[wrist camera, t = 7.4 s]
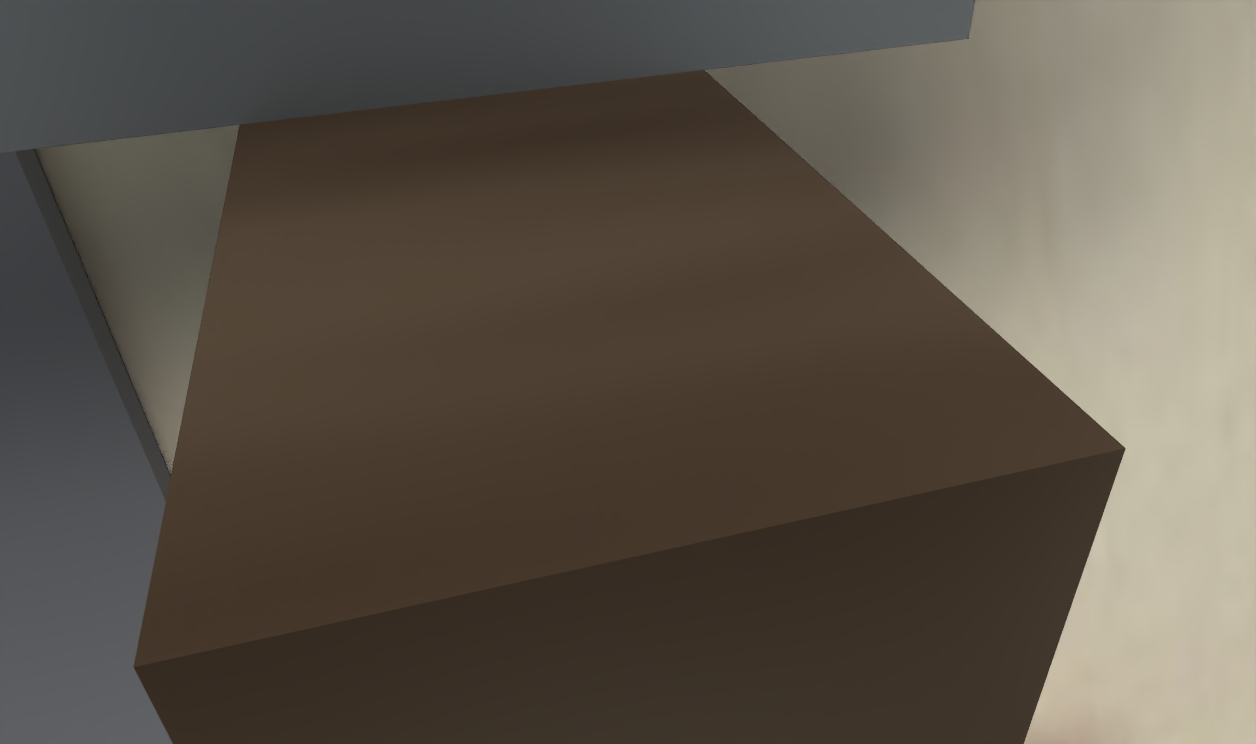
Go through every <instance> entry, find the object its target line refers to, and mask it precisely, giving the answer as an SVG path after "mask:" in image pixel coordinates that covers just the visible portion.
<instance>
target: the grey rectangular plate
mask: <svg viewBox="0 0 1256 744" xmlns="http://www.w3.org/2000/svg"><path fill="white" fill-rule="evenodd" d="M170 478H171V476H170V474H169V472H168V469H167V467H166V464H165V462H164V460H163V457H162V455H161V452H160V450H159V448H158V445H157V443H156V440H155V438H154V436H153V433H152V431H151V429H150V426H149V424H148V421H147V419H146V417H145V414H144V412H143V409H142V407H141V405H140V402H139V400H138V397H137V395H136V393H135V390H134V388H133V386H132V383H131V381H130V378H129V376H128V374H127V371H126V369H125V366H124V364H123V362H122V359H121V357H120V354H119V352H118V350H117V347H116V345H115V343H114V340H113V338H112V335H111V333H110V331H109V328H108V326H107V323H106V321H105V319H104V316H103V314H102V311H101V309H100V307H99V304H98V302H97V300H96V297H95V295H94V292H93V290H92V288H91V285H90V283H89V280H88V278H87V276H86V273H85V271H84V268H83V266H82V264H81V261H80V259H79V257H78V254H77V252H76V249H75V247H74V245H73V242H72V240H71V237H70V235H69V233H68V230H67V228H66V225H65V223H64V221H63V218H62V216H61V214H60V211H59V209H58V206H57V204H56V202H55V199H54V197H53V194H52V192H51V190H50V187H49V185H48V182H47V180H46V178H45V175H44V173H43V171H42V168H41V166H40V163H39V161H38V159H37V156H36V154H35V151H34V149H29V150H21V151H12V152H4V153H0V744H173V743H172V741H171V739H170V737H169V735H168V733H167V731H166V730H165V728H164V726H163V724H162V722H161V720H160V718H159V716H158V714H157V712H156V710H155V708H154V706H153V704H152V702H151V700H150V698H149V696H148V694H147V693H146V691H145V689H144V687H143V685H142V683H141V681H140V679H139V677H138V675H137V673H136V671H135V669H134V662H135V657H136V652H137V647H138V641H139V636H140V631H141V626H142V621H143V616H144V611H145V606H146V601H147V596H148V590H149V585H150V580H151V575H152V570H153V565H154V560H155V555H156V550H157V545H158V539H159V534H160V529H161V524H162V519H163V514H164V509H165V504H166V499H167V494H168V488H169V483H170Z"/></svg>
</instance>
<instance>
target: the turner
mask: <svg viewBox="0 0 1256 744" xmlns="http://www.w3.org/2000/svg"><path fill="white" fill-rule="evenodd" d="M974 3H975V0H0V153H4V152H12V151H21V150H29V149H38V148H46V147H54V146H63V145H71V144H80V143H88V142H97V141H105V140H114V139H122V138H131V137H139V136H148V135H156V134H165V133H173V132H182V131H190V130H199V129H207V128H216V127H224V126H233V125H240V127H239V132H238V137H237V142H236V147H235V152H234V157H233V162H232V167H231V172H230V178H229V183H228V188H227V193H226V198H225V203H224V208H223V213H222V218H221V223H220V228H219V234H218V239H217V244H216V249H215V254H214V259H213V264H212V269H211V274H210V279H209V285H208V290H207V295H206V300H205V305H204V310H203V315H202V320H201V325H200V330H199V336H198V341H197V346H196V351H195V356H194V361H193V366H192V371H191V376H190V381H189V387H188V392H187V397H186V402H185V407H184V412H183V417H182V422H181V427H180V432H179V438H178V443H177V448H176V453H175V458H174V463H173V468H172V473H171V478H170V483H169V488H168V494H167V499H166V504H165V509H164V514H163V519H162V524H161V529H160V534H159V539H158V545H157V550H156V555H155V560H154V565H153V570H152V575H151V580H150V585H149V590H148V596H147V601H146V606H145V611H144V616H143V621H142V626H141V631H140V636H139V641H138V647H137V652H136V657H135V662H134V669H135V671H136V673H137V675H138V677H139V679H140V681H141V683H142V685H143V687H144V689H145V691H146V693H147V694H148V696H149V698H150V700H151V702H152V704H153V706H154V708H155V710H156V712H157V714H158V716H159V718H160V720H161V722H162V724H163V726H164V728H165V730H166V731H167V733H168V735H169V737H170V739H171V741H172V743H173V744H1024V741H1025V738H1026V735H1027V732H1028V729H1029V726H1030V723H1031V721H1032V718H1033V715H1034V712H1035V709H1036V706H1037V703H1038V700H1039V697H1040V694H1041V692H1042V689H1043V686H1044V683H1045V680H1046V677H1047V674H1048V671H1049V668H1050V665H1051V663H1052V660H1053V657H1054V654H1055V651H1056V648H1057V645H1058V642H1059V639H1060V637H1061V634H1062V631H1063V628H1064V625H1065V622H1066V619H1067V616H1068V613H1069V610H1070V608H1071V605H1072V602H1073V599H1074V596H1075V593H1076V590H1077V587H1078V584H1079V582H1080V579H1081V576H1082V573H1083V570H1084V567H1085V564H1086V561H1087V558H1088V555H1089V553H1090V550H1091V547H1092V544H1093V541H1094V538H1095V535H1096V532H1097V529H1098V527H1099V524H1100V521H1101V518H1102V515H1103V512H1104V509H1105V506H1106V503H1107V500H1108V498H1109V495H1110V492H1111V489H1112V486H1113V483H1114V480H1115V477H1116V474H1117V472H1118V469H1119V466H1120V463H1121V460H1122V457H1123V454H1124V451H1125V447H1123V446H1122V445H1121V444H1120V443H1119V442H1118V441H1117V440H1116V439H1114V438H1113V437H1112V436H1111V435H1110V434H1109V433H1108V432H1107V431H1106V430H1104V429H1103V428H1102V427H1101V426H1100V425H1099V424H1098V423H1097V422H1096V421H1094V420H1093V419H1092V418H1091V417H1090V416H1089V415H1088V414H1087V413H1086V412H1084V411H1083V410H1082V409H1081V408H1080V407H1079V406H1078V405H1077V404H1075V403H1074V402H1073V401H1072V400H1071V399H1070V398H1069V397H1068V396H1067V395H1065V394H1064V393H1063V392H1062V391H1061V390H1060V389H1059V388H1058V387H1057V386H1055V385H1054V384H1053V383H1052V382H1051V381H1050V380H1049V379H1048V378H1047V377H1045V376H1044V375H1043V374H1042V373H1041V372H1040V371H1039V370H1038V369H1037V368H1035V367H1034V366H1033V365H1032V364H1031V363H1030V362H1029V361H1028V360H1026V359H1025V358H1024V357H1023V356H1022V355H1021V354H1020V353H1019V352H1018V351H1016V350H1015V349H1014V348H1013V347H1012V346H1011V345H1010V344H1009V343H1008V342H1006V341H1005V340H1004V339H1003V338H1002V337H1001V336H1000V335H999V334H997V333H996V332H995V331H994V330H993V329H992V328H991V327H990V326H989V325H987V324H986V323H985V322H984V321H983V320H982V319H981V318H980V317H979V316H977V315H976V314H975V313H974V312H973V311H972V310H971V309H970V308H969V307H967V306H966V305H965V304H964V303H963V302H962V301H961V300H960V299H958V298H957V297H956V296H955V295H954V294H953V293H952V292H951V291H950V290H948V289H947V288H946V287H945V286H944V285H943V284H942V283H941V282H940V281H938V280H937V279H936V278H935V277H934V276H933V275H932V274H931V273H930V272H928V271H927V270H926V269H925V268H924V267H923V266H922V265H921V264H920V263H918V262H917V261H916V260H915V259H914V258H913V257H912V256H911V255H909V254H908V253H907V252H906V251H905V250H904V249H903V248H902V247H901V246H899V245H898V244H897V243H896V242H895V241H894V240H893V239H892V238H891V237H889V236H888V235H887V234H886V233H885V232H884V231H883V230H882V229H881V228H879V227H878V226H877V225H876V224H875V223H874V222H873V221H872V220H870V219H869V218H868V217H867V216H866V215H865V214H864V213H863V212H862V211H860V210H859V209H858V208H857V207H856V206H855V205H854V204H853V203H852V202H850V201H849V200H848V199H847V198H846V197H845V196H844V195H843V194H842V193H840V192H839V191H838V190H837V189H836V188H835V187H834V186H833V185H831V184H830V183H829V182H828V181H827V180H826V179H825V178H824V177H823V176H821V175H820V174H819V173H818V172H817V171H816V170H815V169H814V168H813V167H811V166H810V165H809V164H808V163H807V162H806V161H805V160H804V159H803V158H801V157H800V156H799V155H798V154H797V153H796V152H795V151H794V150H792V149H791V148H790V147H789V146H788V145H787V144H786V143H785V142H784V141H782V140H781V139H780V138H779V137H778V136H777V135H776V134H775V133H774V132H772V131H771V130H770V129H769V128H768V127H767V126H766V125H765V124H764V123H762V122H761V121H760V120H759V119H758V118H757V117H756V116H755V115H753V114H752V113H751V112H750V111H749V110H748V109H747V108H746V107H745V106H743V105H742V104H741V103H740V102H739V101H738V100H737V99H736V98H735V97H733V96H732V95H731V94H730V93H729V92H728V91H727V90H726V89H725V88H723V87H722V86H721V85H720V84H719V83H718V82H717V81H716V80H714V79H713V78H712V77H711V76H710V75H709V74H708V73H707V72H706V71H704V70H707V69H716V68H724V67H733V66H741V65H750V64H758V63H767V62H775V61H784V60H792V59H801V58H809V57H818V56H826V55H835V54H843V53H852V52H860V51H869V50H877V49H886V48H894V47H902V46H911V45H919V44H928V43H936V42H945V41H953V40H962V39H969V33H970V27H971V21H972V15H973V9H974Z"/></svg>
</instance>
